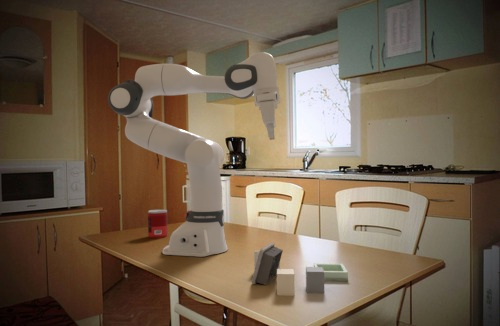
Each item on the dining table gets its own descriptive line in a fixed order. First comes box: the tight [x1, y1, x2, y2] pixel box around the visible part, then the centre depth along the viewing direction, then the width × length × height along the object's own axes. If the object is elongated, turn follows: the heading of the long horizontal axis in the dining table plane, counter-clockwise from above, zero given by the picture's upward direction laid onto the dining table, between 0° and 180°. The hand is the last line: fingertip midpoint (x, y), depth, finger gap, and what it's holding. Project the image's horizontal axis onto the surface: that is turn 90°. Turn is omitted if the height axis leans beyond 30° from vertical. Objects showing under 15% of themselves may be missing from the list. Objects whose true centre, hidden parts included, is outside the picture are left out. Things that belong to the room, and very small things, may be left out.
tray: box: [313, 263, 349, 282], centre depth 100 cm, size 8×8×2 cm
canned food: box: [147, 209, 168, 239], centre depth 157 cm, size 8×8×11 cm
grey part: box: [305, 266, 325, 294], centre depth 89 cm, size 4×4×5 cm
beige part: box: [276, 268, 296, 297], centre depth 88 cm, size 4×4×5 cm
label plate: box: [253, 250, 281, 269], centre depth 104 cm, size 7×1×6 cm, turn 85°
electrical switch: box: [251, 242, 284, 286], centre depth 97 cm, size 9×5×9 cm, turn 158°
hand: (271, 138), depth 129 cm, fingers open, 8 cm apart
